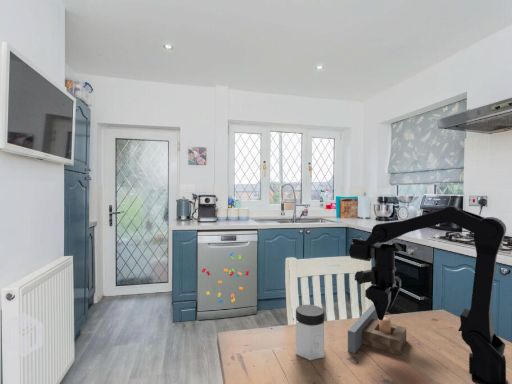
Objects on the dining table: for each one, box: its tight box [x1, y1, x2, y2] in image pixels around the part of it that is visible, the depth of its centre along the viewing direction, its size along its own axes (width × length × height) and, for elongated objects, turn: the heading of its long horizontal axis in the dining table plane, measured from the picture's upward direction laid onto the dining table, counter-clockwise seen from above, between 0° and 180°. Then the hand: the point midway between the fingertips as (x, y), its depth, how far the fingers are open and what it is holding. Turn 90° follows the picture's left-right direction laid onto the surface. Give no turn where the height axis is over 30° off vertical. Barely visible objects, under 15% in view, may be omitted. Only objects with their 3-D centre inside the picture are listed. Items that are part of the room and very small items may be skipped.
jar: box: [295, 304, 326, 361], centre depth 80 cm, size 9×8×12 cm
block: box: [362, 319, 407, 356], centre depth 85 cm, size 10×10×4 cm
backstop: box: [347, 304, 379, 354], centre depth 89 cm, size 2×24×6 cm, turn 142°
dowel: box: [378, 316, 392, 334], centre depth 85 cm, size 3×3×7 cm
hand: (384, 314), depth 86 cm, fingers open, 9 cm apart
